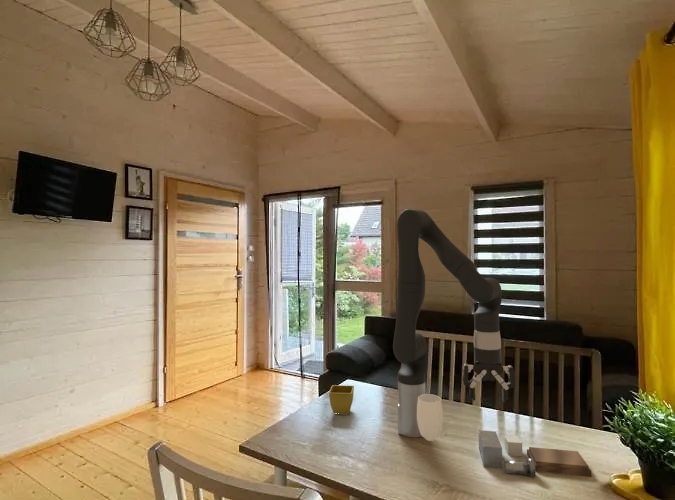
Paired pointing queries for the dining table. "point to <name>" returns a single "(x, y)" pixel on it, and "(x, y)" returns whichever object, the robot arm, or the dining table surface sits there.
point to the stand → (559, 461)
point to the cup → (430, 416)
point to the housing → (490, 449)
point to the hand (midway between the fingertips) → (488, 400)
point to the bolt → (520, 467)
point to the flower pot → (341, 398)
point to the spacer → (513, 445)
